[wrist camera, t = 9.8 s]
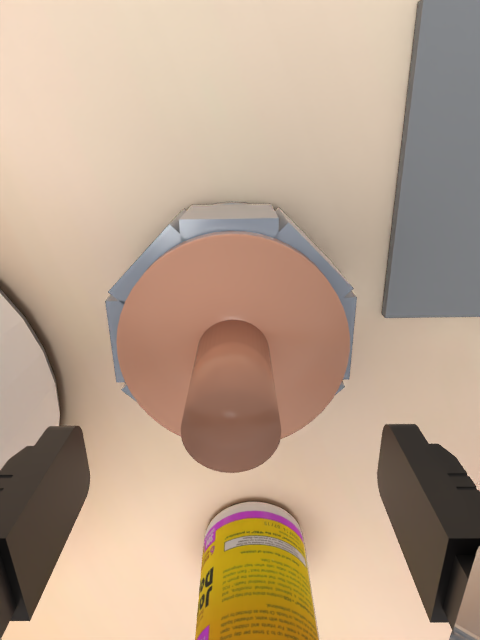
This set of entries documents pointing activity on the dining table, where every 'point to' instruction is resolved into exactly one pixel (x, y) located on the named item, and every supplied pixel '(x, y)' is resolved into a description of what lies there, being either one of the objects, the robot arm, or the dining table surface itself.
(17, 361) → the bucket
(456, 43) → the mat
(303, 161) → the dining table surface
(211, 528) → the supplement bottle
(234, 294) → the lid
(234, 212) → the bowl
